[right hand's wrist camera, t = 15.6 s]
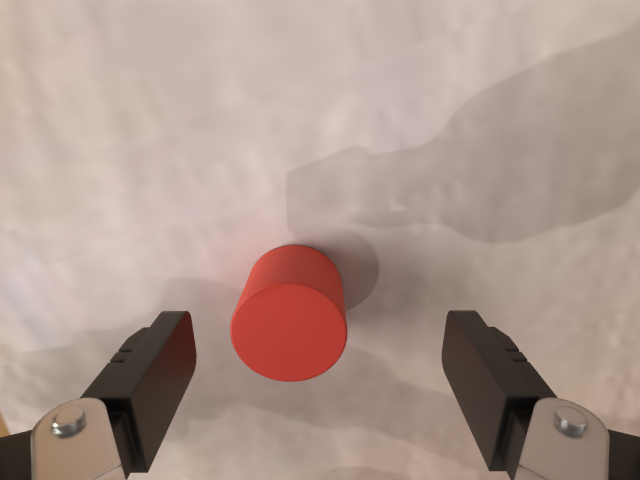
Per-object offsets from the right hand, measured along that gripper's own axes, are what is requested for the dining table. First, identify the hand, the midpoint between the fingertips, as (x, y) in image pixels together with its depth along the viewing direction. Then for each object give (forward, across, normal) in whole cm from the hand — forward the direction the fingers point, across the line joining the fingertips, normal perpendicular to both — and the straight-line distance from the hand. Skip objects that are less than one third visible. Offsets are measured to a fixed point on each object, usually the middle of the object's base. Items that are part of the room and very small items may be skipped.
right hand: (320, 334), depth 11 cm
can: (+7, -1, -2) cm, 8 cm away
